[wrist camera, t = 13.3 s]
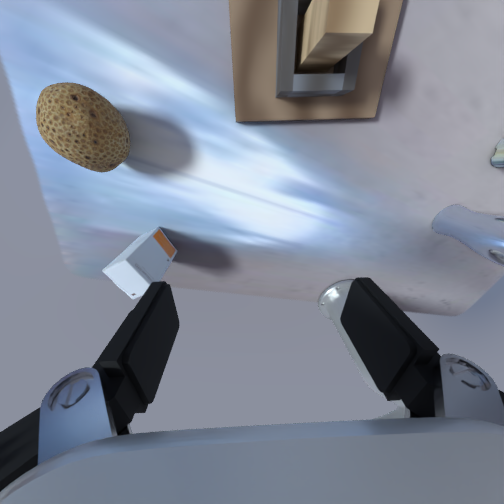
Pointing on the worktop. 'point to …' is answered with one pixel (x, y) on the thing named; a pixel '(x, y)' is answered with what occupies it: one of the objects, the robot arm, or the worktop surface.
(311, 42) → the oak peg
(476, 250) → the beer glass
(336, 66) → the peg caddy
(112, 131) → the natural sponge
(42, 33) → the worktop surface
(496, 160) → the white handle
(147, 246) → the skincare box
